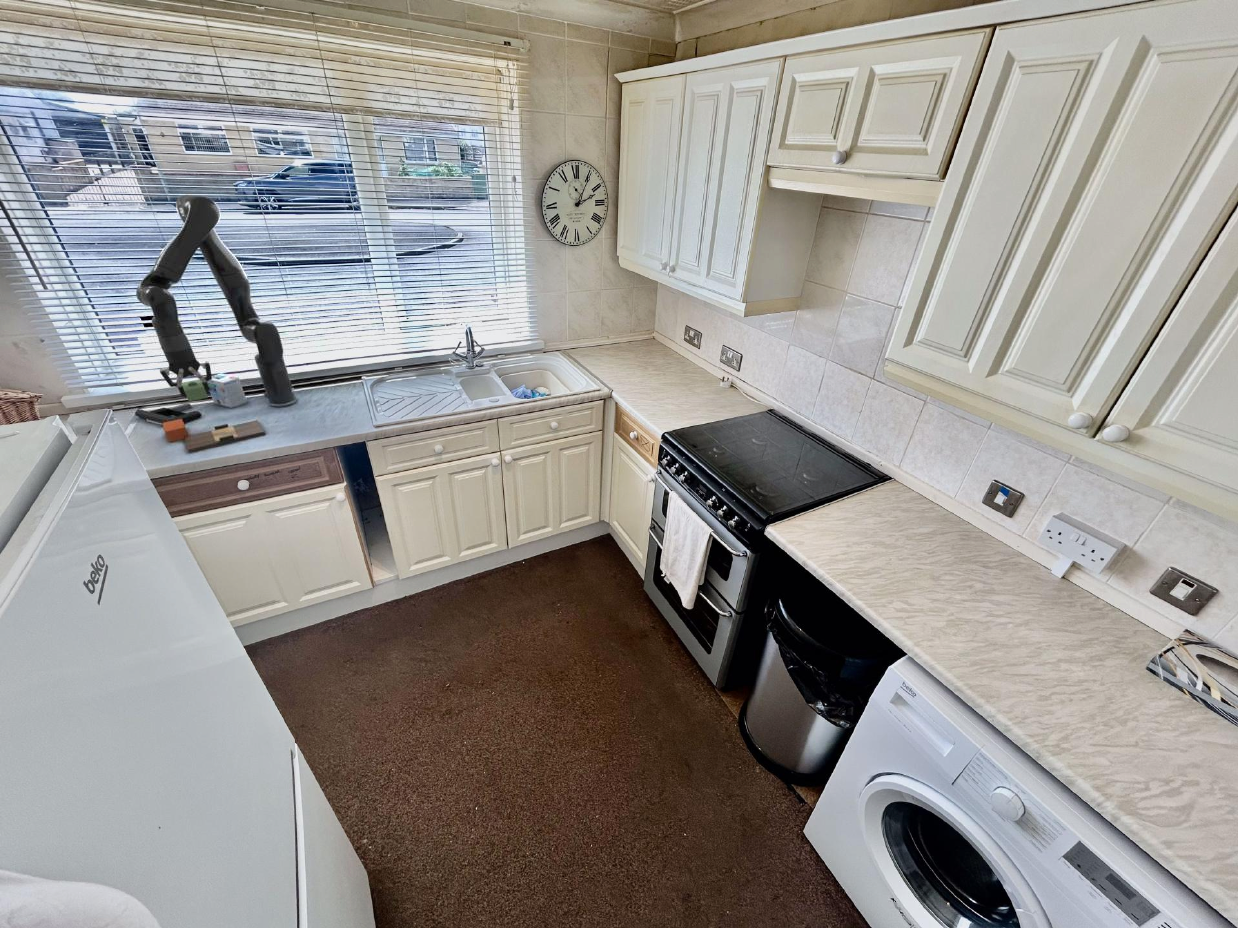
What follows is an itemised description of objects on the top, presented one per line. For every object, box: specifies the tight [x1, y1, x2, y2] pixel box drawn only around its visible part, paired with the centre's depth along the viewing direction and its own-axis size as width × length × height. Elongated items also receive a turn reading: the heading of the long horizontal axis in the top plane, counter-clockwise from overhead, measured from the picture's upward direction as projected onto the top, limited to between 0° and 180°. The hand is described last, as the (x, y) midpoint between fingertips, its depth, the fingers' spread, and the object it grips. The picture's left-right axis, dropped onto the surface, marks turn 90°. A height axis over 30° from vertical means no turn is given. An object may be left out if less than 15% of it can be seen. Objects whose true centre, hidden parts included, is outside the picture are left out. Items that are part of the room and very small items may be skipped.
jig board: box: [183, 419, 266, 453], centre depth 182 cm, size 12×22×2 cm, turn 131°
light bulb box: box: [207, 372, 248, 409], centre depth 205 cm, size 11×7×11 cm, turn 68°
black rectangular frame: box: [134, 402, 202, 426], centre depth 195 cm, size 3×20×16 cm
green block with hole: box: [182, 379, 209, 402], centre depth 180 cm, size 9×6×5 cm, turn 41°
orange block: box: [162, 419, 189, 443], centre depth 182 cm, size 9×6×4 cm, turn 41°
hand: (196, 394), depth 181 cm, fingers closed on green block with hole, 5 cm apart
